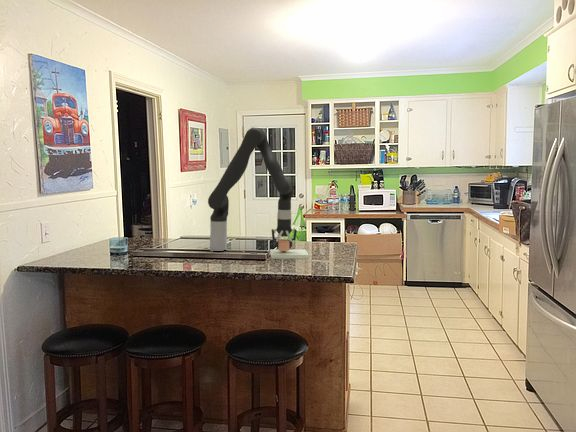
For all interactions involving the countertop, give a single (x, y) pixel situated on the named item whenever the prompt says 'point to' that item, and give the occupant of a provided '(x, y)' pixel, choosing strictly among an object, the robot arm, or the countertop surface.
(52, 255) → the countertop surface
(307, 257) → the post board
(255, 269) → the countertop surface
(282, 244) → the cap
